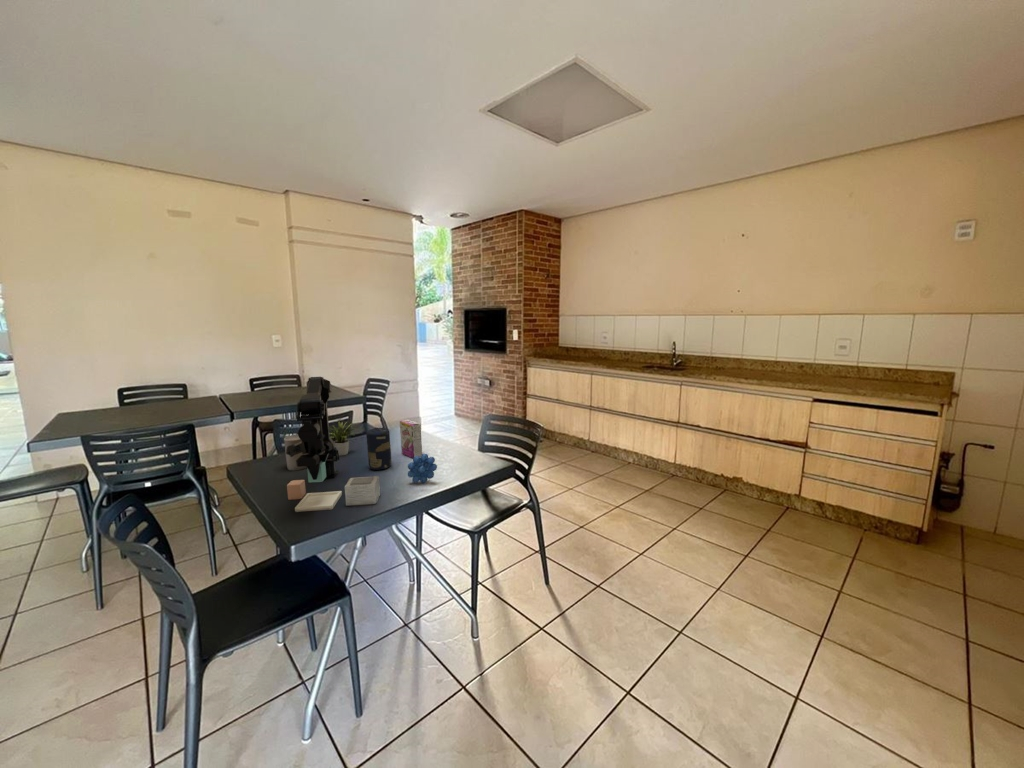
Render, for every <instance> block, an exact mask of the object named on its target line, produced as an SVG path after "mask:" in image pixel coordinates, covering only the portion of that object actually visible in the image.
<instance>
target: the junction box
mask: <svg viewBox="0 0 1024 768" xmlns="http://www.w3.org/2000/svg"><path fill="white" fill-rule="evenodd" d="M344 495H345V506H346V507H347V506H349V507H350V506H364V505H377V502H378V500H379V498H380V497H381V496H380V495H381V489H380V475H378V476H377V475H376V476H375V475H374V476H360V477H350V478H349V479H348V480H347V483H346V484H345V485H344Z"/></svg>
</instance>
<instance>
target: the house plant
mask: <svg viewBox="0 0 1024 768" xmlns="http://www.w3.org/2000/svg"><path fill="white" fill-rule="evenodd" d="M347 423H348V421H346V422H345V423H344V424H343V421H341V422H340V421H338V428H337V427H336V426H335V425H334V424H331V427H329V431H331V432H329V433H330V438H331V439H332V440H333V439H335V440H333V441H334V443H335V447H336V448H337V450H338V452H339V457H341V456H346V455H347V454H349V446H350V440H349V439H347V437H349V436H354V435H355V432H352V431H354V430H356V428H352V425H353V422H352V423H350V424H348V425H347ZM346 425H347V426H346ZM332 427H333V428H332ZM344 427H346V428H345V429H344Z"/></svg>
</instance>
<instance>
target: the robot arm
mask: <svg viewBox="0 0 1024 768" xmlns="http://www.w3.org/2000/svg"><path fill="white" fill-rule="evenodd" d="M332 391H333V389H332V383H331V381H330V380H327V379H325V378H324V376H311V377H308V379H307V381H306V392H305V394H303V395H302V396H300V399H299V401H297V406H296V408H297V410H296V422H301V426H300V427H299V429H298V431H297V434H298V436H299V438H300V439H301V440H302V441H301V442H298V443H296V444H292V445H289V446H287V449H286V452H285V455H286V454H288V455H290V457H293V456H294V455H296V454H299V453H301V452H302V454H306V453H308V454H307V455H301V456H300V457H299V458H298V459H297V460H296V466H297V467H302V466H306V467H307V468H308V470H309V472H310V474H311V476H312V478H313V480H316V479H317V477H318V473H319V469H320V466H321V462H325V466H326V478H330V479H331V478H335V476H337V474H338V473H339V471H338V470H336V464H335V463H336V462H338V461H340V459H341V458H340V456H339V452H338V450H337V448H336V447H335V443H334V441H335V440H333V439H331V438H330V436H331V434H330V433H331V432H330V429H329V428H330V426H329V425H330V424H329V411H328V401H329V398H330V397H331V393H332ZM307 468H306V469H307ZM326 478H325V479H326Z"/></svg>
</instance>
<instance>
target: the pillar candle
mask: <svg viewBox="0 0 1024 768" xmlns="http://www.w3.org/2000/svg"><path fill="white" fill-rule="evenodd" d="M301 441H302V440H301V439H300V438H299V436H298V433H296V434H291V435H288V436H286V437H284V438H283V443H284V449H285V451H284V452H285V459H286V467H287V470H288V471H300V470H304V469H307V467H306V466H302V467H297V466H296V460H297V459H298V458H299V457H300V456H301V455H307V454H308V453H306V454H302V452H301V453H299V454H296V455H294V456H293V457H290V455H288V454H286V449H287V446H289V445H292V444H296V443H298V442H301Z"/></svg>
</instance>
